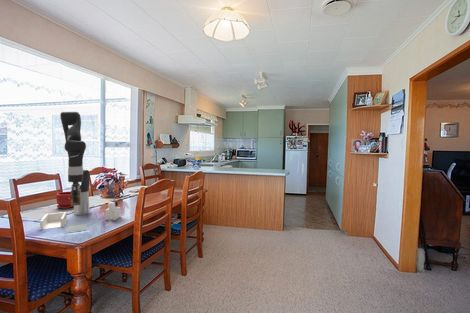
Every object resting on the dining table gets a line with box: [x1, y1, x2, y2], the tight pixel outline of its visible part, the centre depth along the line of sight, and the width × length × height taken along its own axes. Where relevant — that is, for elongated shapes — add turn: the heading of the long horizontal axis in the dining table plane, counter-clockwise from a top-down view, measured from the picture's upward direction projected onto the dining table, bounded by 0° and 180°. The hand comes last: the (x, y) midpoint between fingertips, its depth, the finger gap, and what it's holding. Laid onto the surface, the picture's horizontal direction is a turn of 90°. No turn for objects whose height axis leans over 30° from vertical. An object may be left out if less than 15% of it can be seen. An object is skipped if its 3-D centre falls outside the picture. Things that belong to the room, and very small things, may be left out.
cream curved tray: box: [39, 211, 68, 230], centre depth 145 cm, size 12×16×6 cm
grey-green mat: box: [65, 223, 88, 234], centre depth 139 cm, size 10×10×1 cm
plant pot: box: [56, 191, 74, 209], centre depth 186 cm, size 13×13×12 cm
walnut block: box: [70, 189, 81, 207], centre depth 138 cm, size 4×4×9 cm
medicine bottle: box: [104, 200, 121, 221], centre depth 161 cm, size 7×7×12 cm
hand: (75, 201), depth 138 cm, fingers closed on walnut block, 4 cm apart
